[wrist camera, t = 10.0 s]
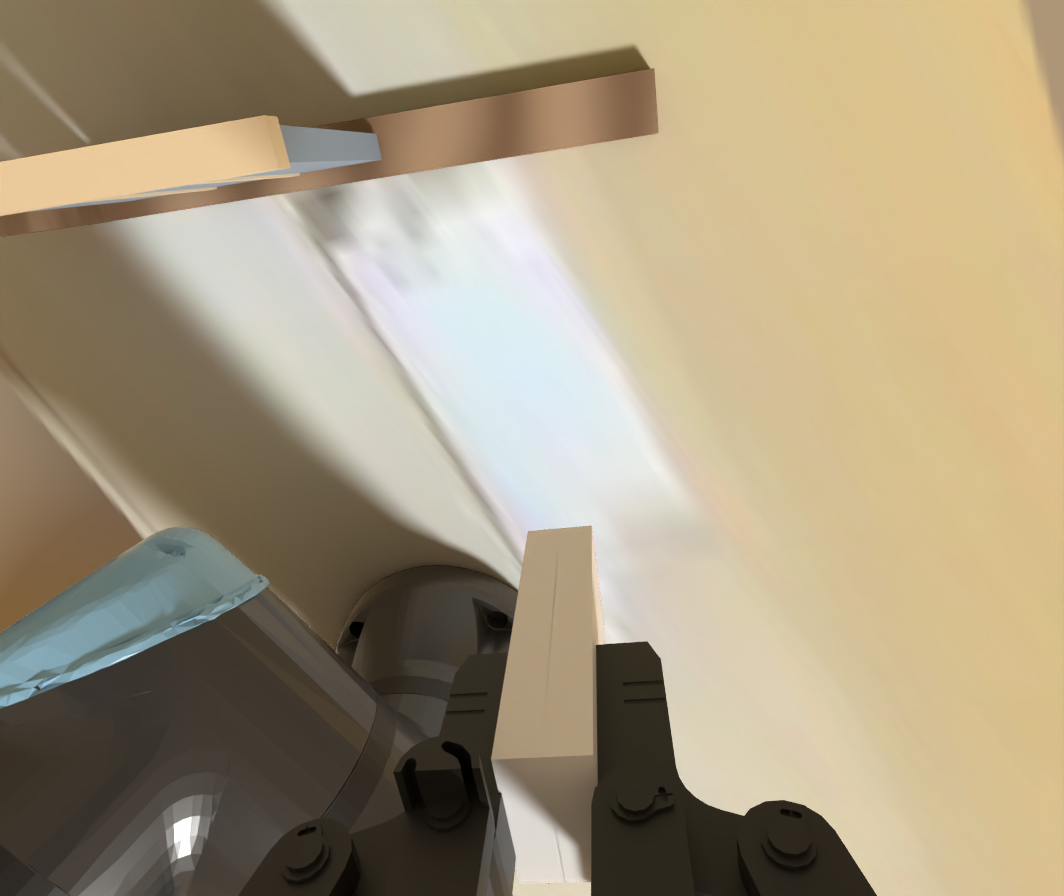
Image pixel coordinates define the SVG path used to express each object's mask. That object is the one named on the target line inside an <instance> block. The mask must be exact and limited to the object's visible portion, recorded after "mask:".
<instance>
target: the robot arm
mask: <svg viewBox="0 0 1064 896" xmlns="http://www.w3.org/2000/svg"><path fill="white" fill-rule="evenodd" d="M269 583H270V582H269V580H268V579H267V578H266V577H265V576H263V575H259V574H255V573H254V572H252V571H251V570H250V569H249V568H248V567H247V566H245V565H244V564H243V563H242V562H241V561H240V560H238V559H237V558H236V557H235V556H234V555H233V554H232V553H230V552H229V551H228V550H227V549H226V548H225V547H223V546H222V545H221V544H220V543H219V542H218V541H216V540H215V539H214V538H213V537H211V536H210V535H208V534H207V533H205V532H203V531H201V530H198V529H194V528H189V527H174V528H168V529H164V530H162V531H159V532H157V533H155V534H153V535H151V536H149V537H148V538H146V539H144V540H143V541H141V542H140V543H138V544H136V545H135V546H133V547H132V548H130V549H128V550H127V551H125V552H124V553H122V554H121V555H119V556H118V557H116V558H114V559H113V560H111V561H110V562H108V563H107V564H105V565H104V566H102V567H101V568H99V569H98V570H96V571H94V572H93V573H91V574H90V575H88V576H87V577H85V578H84V579H82V580H81V581H79V582H77V583H76V584H74V585H73V586H71V587H70V588H68V589H66V590H65V591H63V592H62V593H60V594H59V595H57V596H56V597H54V598H52V599H51V600H49V601H48V602H46V603H45V604H43V605H42V606H40V607H39V608H37V609H36V610H34V611H33V612H31V613H29V614H28V615H27V616H25V617H23V618H22V619H20V620H19V621H17V622H16V623H14V624H13V625H11V626H10V627H8V628H6V629H5V630H4V631H2V632H1V633H0V896H513V895H512V890H513V880H514V871H515V867H516V871H517V875H518V880H519V884H521V883H569V882H591V896H877V895H876V893H875V892H874V890H873V889H872V887H871V886H870V884H869V883H868V881H867V879H866V878H865V876H864V875H863V873H862V872H861V870H860V869H859V867H858V865H857V864H856V862H855V861H854V859H853V858H852V856H851V855H850V853H849V852H848V850H847V848H846V847H845V845H844V844H843V842H842V841H841V839H840V838H839V836H838V834H837V833H836V831H835V830H834V829H833V828H832V827H831V826H830V825H829V824H828V822H827V821H826V820H825V819H824V818H823V817H822V816H821V815H819V814H818V813H816V812H814V811H812V810H811V809H809V808H807V807H806V806H804V805H801V804H797V803H793V802H789V801H785V800H780V801H766V802H763V803H761V804H759V805H757V806H755V807H753V808H751V809H750V810H749V811H748V812H747V813H746V815H745V816H742V815H738V814H734V813H731V812H727V811H723V810H720V809H717V808H715V807H712V806H709V805H707V804H705V803H704V802H702V801H700V800H699V799H697V798H696V797H694V796H693V795H692V794H691V793H690V792H689V791H688V790H687V789H686V788H685V786H684V784H683V783H682V781H681V780H680V778H679V775H678V772H677V769H676V764H675V757H674V750H673V743H672V736H671V729H670V722H669V715H668V707H667V701H666V693H665V686H664V679H663V672H662V665H661V659H660V658H659V656H658V655H657V654H656V652H655V651H654V650H653V648H652V647H651V646H650V644H649V643H648V642H633V643H617V644H605V641H604V618H603V610H602V603H601V595H600V587H599V579H598V571H597V564H596V556H595V548H594V540H593V532H592V526H583V527H572V528H561V529H549V530H538V531H528V535H527V541H526V547H525V554H524V560H523V566H522V572H521V578H520V584H519V591H518V593H517V592H516V591H515V590H513V589H512V588H510V587H509V586H507V585H505V584H504V583H502V582H500V581H498V580H496V579H494V578H492V577H490V576H487V575H485V574H482V573H479V572H476V571H472V570H469V569H464V568H459V567H451V566H424V567H417V568H411V569H408V570H404V571H401V572H398V573H395V574H393V575H390V576H388V577H386V578H384V579H382V580H381V581H379V582H378V583H376V584H375V585H373V586H372V587H371V588H370V589H368V590H367V591H366V592H365V593H364V594H363V595H362V596H361V598H360V599H359V600H358V601H357V603H356V604H355V606H354V607H353V609H352V611H351V613H350V615H349V617H348V619H347V621H346V623H345V625H344V627H343V629H342V631H341V633H340V636H339V639H338V643H337V647H336V652H335V651H334V650H333V649H332V648H331V647H330V646H329V645H328V644H327V643H326V642H325V641H323V640H322V639H321V638H320V637H319V636H318V635H317V634H316V633H315V632H314V631H313V630H312V629H311V628H310V627H309V626H308V625H307V624H306V623H305V622H304V621H302V620H301V619H300V618H299V617H298V616H297V615H296V614H295V613H294V612H293V611H292V610H291V609H290V608H289V607H288V606H287V605H286V604H285V603H284V602H283V601H282V600H280V599H279V598H278V597H277V596H276V595H275V594H274V593H273V592H272V591H271V590H270V589H269V588H268V587H267V586H268V585H269Z"/></svg>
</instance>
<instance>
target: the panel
mask: <svg viewBox="0 0 1064 896" xmlns="http://www.w3.org/2000/svg"><path fill="white" fill-rule="evenodd" d="M377 160H382V158H381V153H380V148H379V144H378V139H377V134H373V133H362V132H352V131H341V130H330V129H320V128H309V127H298V126H287V125H280V124H279V121H278V117H276V116H268V115H262V116H257V117H251V118H245V119H240V120H234V121H228V122H223V123H217V124H211V125H206V126H200V127H194V128H189V129H183V130H177V131H172V132H166V133H161V134H155V135H149V136H144V137H138V138H132V139H127V140H121V141H115V142H110V143H104V144H98V145H93V146H87V147H82V148H76V149H70V150H65V151H59V152H53V153H48V154H42V155H36V156H31V157H25V158H19V159H14V160H8V161H2V162H0V216H4V215H10V214H16V213H22V212H30V211H40V210H50V209H59V208H69V207H79V206H88V205H98V204H108V203H117V202H127V201H134V200H140V199H146V198H152V197H158V196H164V195H170V194H178V193H188V192H198V191H208V190H214V189H217V187H219V186H225V185H231V184H237V183H243V182H249V181H256V180H262V179H272V178H285V177H293V176H299V175H300V173H304V172H310V171H316V170H323V169H329V168H335V167H341V166H347V165H353V164H359V163H365V162H371V161H377Z"/></svg>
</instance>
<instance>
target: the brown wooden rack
mask: <svg viewBox="0 0 1064 896" xmlns="http://www.w3.org/2000/svg"><path fill="white" fill-rule="evenodd" d="M311 128H320V129H330V130H341V131H352V132H362V133H373V134H377V139H378V144H379V148H380V153H381V158H382V160H377V161H371V162H365V163H359V164H353V165H347V166H341V167H335V168H329V169H323V170H316V171H310V172H304V173H300V175H299V176H293V177H285V178H272V179H262V180H256V181H249V182H243V183H237V184H231V185H225V186H219V187H217V189H214V190H208V191H198V192H188V193H178V194H170V195H164V196H158V197H152V198H146V199H140V200H134V201H127V202H117V203H108V204H98V205H88V206H79V207H69V208H59V209H50V210H40V211H30V212H22V213H16V214H10V215H4V216H0V237H4V236H11V235H18V234H25V233H32V232H39V231H46V230H53V229H61V228H68V227H75V226H82V225H89V224H96V223H103V222H109V221H115V220H121V219H128V218H134V217H140V216H146V215H153V214H159V213H165V212H171V211H177V210H184V209H190V208H196V207H202V206H209V205H215V204H221V203H227V202H233V201H240V200H246V199H252V198H258V197H265V196H271V195H277V194H283V193H289V192H296V191H302V190H308V189H314V188H321V187H327V186H333V185H339V184H345V183H352V182H358V181H364V180H370V179H377V178H383V177H389V176H395V175H401V174H408V173H414V172H420V171H426V170H433V169H439V168H445V167H451V166H457V165H464V164H470V163H476V162H482V161H489V160H495V159H501V158H507V157H513V156H520V155H526V154H532V153H538V152H545V151H551V150H557V149H563V148H569V147H576V146H582V145H588V144H594V143H601V142H607V141H613V140H619V139H625V138H632V137H638V136H644V135H650V134H656V133H658V118H657V103H656V88H655V73H654V68H652V69H647V70H641V71H635V72H629V73H624V74H618V75H612V76H606V77H600V78H595V79H589V80H583V81H577V82H572V83H566V84H560V85H554V86H548V87H543V88H537V89H531V90H525V91H520V92H514V93H508V94H502V95H496V96H491V97H485V98H479V99H473V100H468V101H462V102H456V103H450V104H444V105H439V106H433V107H427V108H421V109H415V110H410V111H404V112H398V113H392V114H387V115H381V116H375V117H369V118H363V119H358V120H352V121H346V122H340V123H335V124H329V125H323V126H317V127H311Z"/></svg>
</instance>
